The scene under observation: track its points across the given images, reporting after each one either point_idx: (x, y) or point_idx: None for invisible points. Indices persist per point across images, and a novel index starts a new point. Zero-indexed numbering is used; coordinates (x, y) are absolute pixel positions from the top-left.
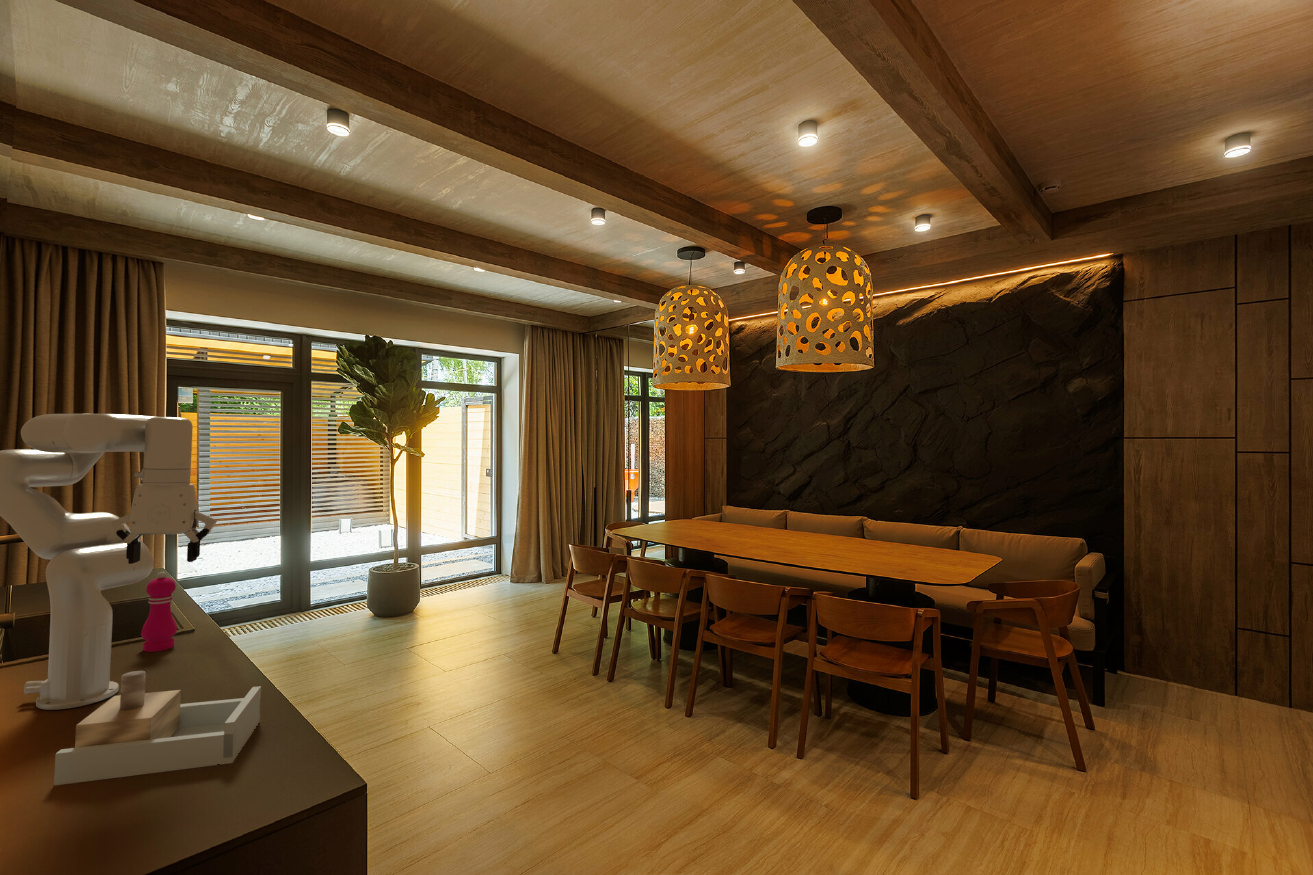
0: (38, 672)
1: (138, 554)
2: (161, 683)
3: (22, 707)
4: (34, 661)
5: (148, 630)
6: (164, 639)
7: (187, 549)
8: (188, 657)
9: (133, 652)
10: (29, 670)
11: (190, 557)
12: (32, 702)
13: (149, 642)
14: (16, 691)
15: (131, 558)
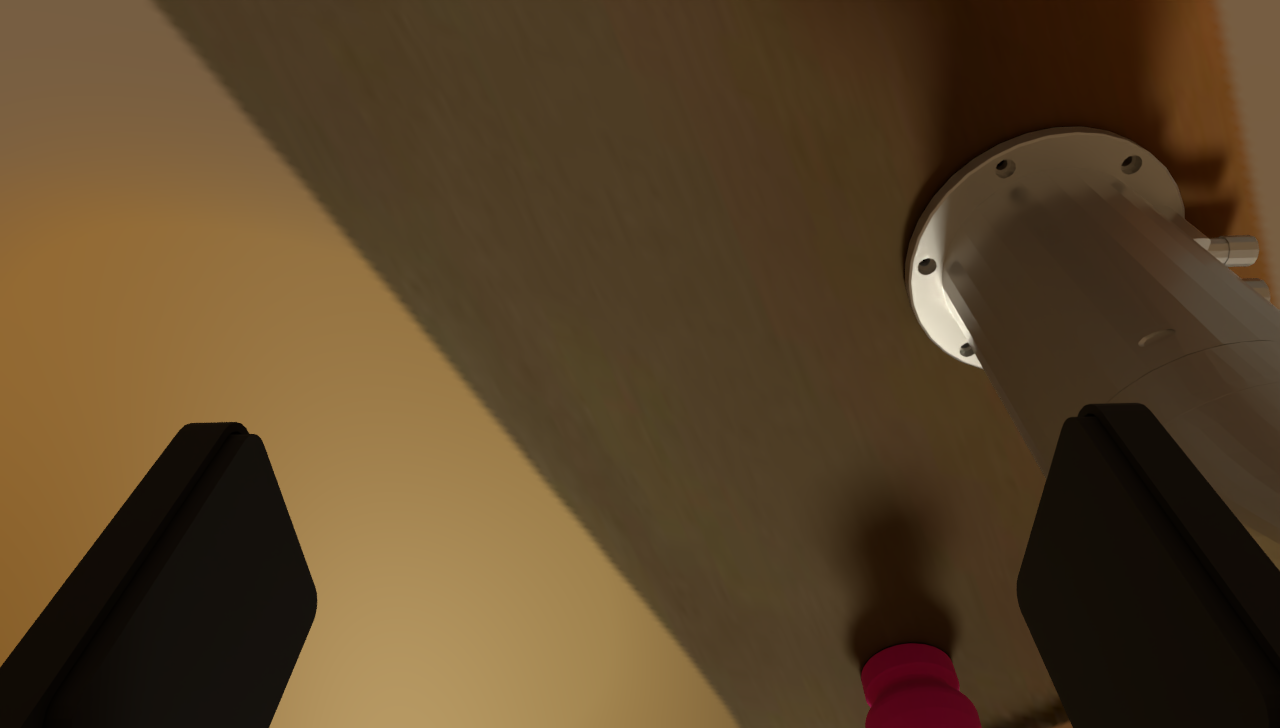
0: None
1: (1071, 641)
2: (768, 338)
3: (1217, 196)
4: None
5: (954, 715)
6: (890, 686)
7: (147, 599)
8: (769, 572)
9: (976, 647)
10: None
11: (158, 464)
12: None
13: (937, 678)
14: None
15: (1135, 457)
